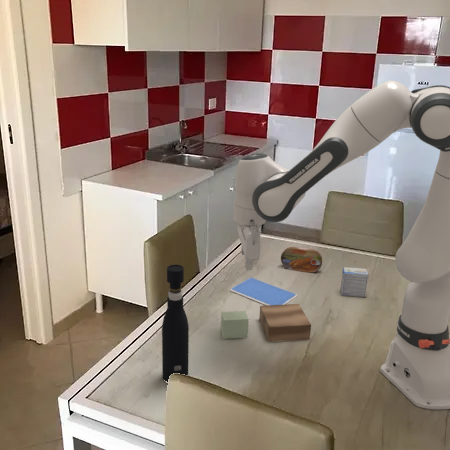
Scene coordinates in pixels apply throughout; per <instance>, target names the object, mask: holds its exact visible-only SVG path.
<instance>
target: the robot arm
mask: <svg viewBox="0 0 450 450" xmlns="http://www.w3.org/2000/svg"><path fill="white" fill-rule="evenodd" d="M409 128H410V129H412V131H413V133H414V134H415V136H416V137H417V138H418V139H419V140H420V141H421V142H423V143H425V144H427V145H429V146H431V147H434V148H435V149H437V150H439V157H438V160H437V163H436V167H435V170H434V174H433V176H432V180H431V184H430V186H429V191H428V194H427V197H426V200H425V201H424V204H423V206H422V209H421V210H420V213H419V214H418V216H417V218H416V220H415V222H414V224H413V226H412V228H411V230H410V231H409V233H408V235H407V237H406V239H405V240H404V241H403V243H402V244H401V245H400V246H399V247H398V249H397V250H396V253H395V258H394V261H395V266H396V269H397V271H398V273H399V274H400V275H401V277H403V278H405V280H407V281H408V282H409V283H408V285H407V286H406V288H405V291H404V297H403V302H402V308H401V314H400V315H399V317H398V320H397V323H396V324H397V325H396V334H395V335H394V338H393V339H392V340H391V343H389V344H390V345H389V348H388V351H387V355H386V357H385V358H386V359H385V362H384V363H383V364H382V365H381V366H380V369H379V371H380V373H381V374H382V375H383V376H384V377H385V378H387V380H389V381H390V382H391V384H393V385H394V386H395V388H396V389H398V390H399V391H400V392H401V393H402V394H403V395H404V397H406V398H408V400H409V401H410V402H411V403H412V404H413V405H414V406H416V407H419V408H423V409H427V410H449V409H450V346H449V345H450V331H449V330H450V329H449V325H448V324H449V320H450V86H447V85H442V84H441V85H439V84H437V85H432V86H427V87H422V88H417V89H412V90H410V89H409V88H408V87H407V86H406V85H404V84H403V83H401V82H399V81H396V80H387V81H384V82H382V83H381V84H378V85H376V87H373V88H372V89H370V90H369V91H367V92H366V93H365V94H363V95H362V96H361V97H359V98H358V99H357V100H356V101H354V102H353V103H352V104H351V105H350V106H348V107H347V108H345V110H344V111H343V112H341V114H340V115H339V116H338V117H337V118H336V119H335V121H334V122H333V123H332V125H330V127H329V128H328V129H327V131H326V132H325V133H324V135H323V136H322V138H321V139H320V141H318V143H317V144H316V145H315V146H314V148H313V149H312V150H311V152H309V153H308V154H306V156H305V157H304V158H303V159H301V160H300V161H299V162H298V163H297V164H295V165H294V166H293V167H292V168H290V169H288V168H286V167H284V166H282V165H281V164H278V163H277V162H276V161H274V160H273V159H272V158H271V157H270V156H269V155H268V154H266V153H251V154H247V155H245V156H243V157H241V159H240V160H239V161H238V163H237V167H236V173H235V174H236V175H235V181H234V182H235V184H234V189H235V197H234V200H233V201H234V202H233V213H232V214H233V215H232V220H233V221H234V222H235V223H236V228H237V233H238V237H239V241H240V245H241V249H240V251H241V255H243V256H244V259H245V265H244V266H245V267H244V268H245V270H246V271H252V270H253V267H254V266H253V265H254V262H255V261H259V260H260V256H261V231H260V229H261V228H262V225H264V224H265V223H266V222H270V223H281V222H283V221H284V220H286V219H288V218H289V216H290V215H291V214H292V211H293V210H294V209H295V208H296V207H297V206H298V205H299V203H300V202H301V201H302V200H303V199H304V197H305V196H306V193H307V192H308V191H309V190H310V189H312V188H313V187H314V186H315V185H316V184H319V182H320V181H322V180H323V178H325V177H326V176H328V175H329V174H331V173H332V172H334V171H335V170H337V169H339V168H341V167H342V166H345V165H346V164H348V163H351V162H352V161H354V160H356V159H358V158H360V157H361V156H364V155H365V154H367V153H368V152H370V151H372V150H373V149H375V148H376V147H378V146H379V145H380V144H381V143H382V142H384V141H385V140H387V138H389V137H390V136H391V135H392V134H394V133H396V132H397V131H399V130H402V129H409Z"/></svg>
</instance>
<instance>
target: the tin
mask: <svg viewBox="0 0 450 450" xmlns="http://www.w3.org/2000/svg"><path fill="white" fill-rule="evenodd" d="M280 263H281V264H282V265H283V267H284V268H286V269H288V270H289V271H290V270H291V271H296V272H303V273H305V272H306V273H312V274H313V273H316V272H318V271H319V270H320V269H321V267H322V265H323V257H322V255H321V253H320V252H319V251H318V250H315V249H314V248H313V249H311V248H304V247H296V246H289V247H287V248H285V249H284V250H283V251H282V252H281V254H280Z"/></svg>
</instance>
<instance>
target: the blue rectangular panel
mask: <svg viewBox="0 0 450 450" xmlns="http://www.w3.org/2000/svg"><path fill="white" fill-rule="evenodd" d="M230 292H232V293H234V294H237V295H239V296H242V297H244V298H247V299H250V300H252V301H254V302H257V303H259V304H261V305H263V306H265V305H285V304H290V303H291V302H292V301H293V300H295V299H296V298H297V297H298V294H297V293H294V292H291V291H290V290H286V289H283V288H280V287H278V286H275V285H272V284H270V283H268V282H265V281H262V280H261V279H257V278H254V277H248V278H247V279H245V280H243V281H242V282H240V283H239V284H237V285H235V286H233V287H230Z"/></svg>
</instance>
